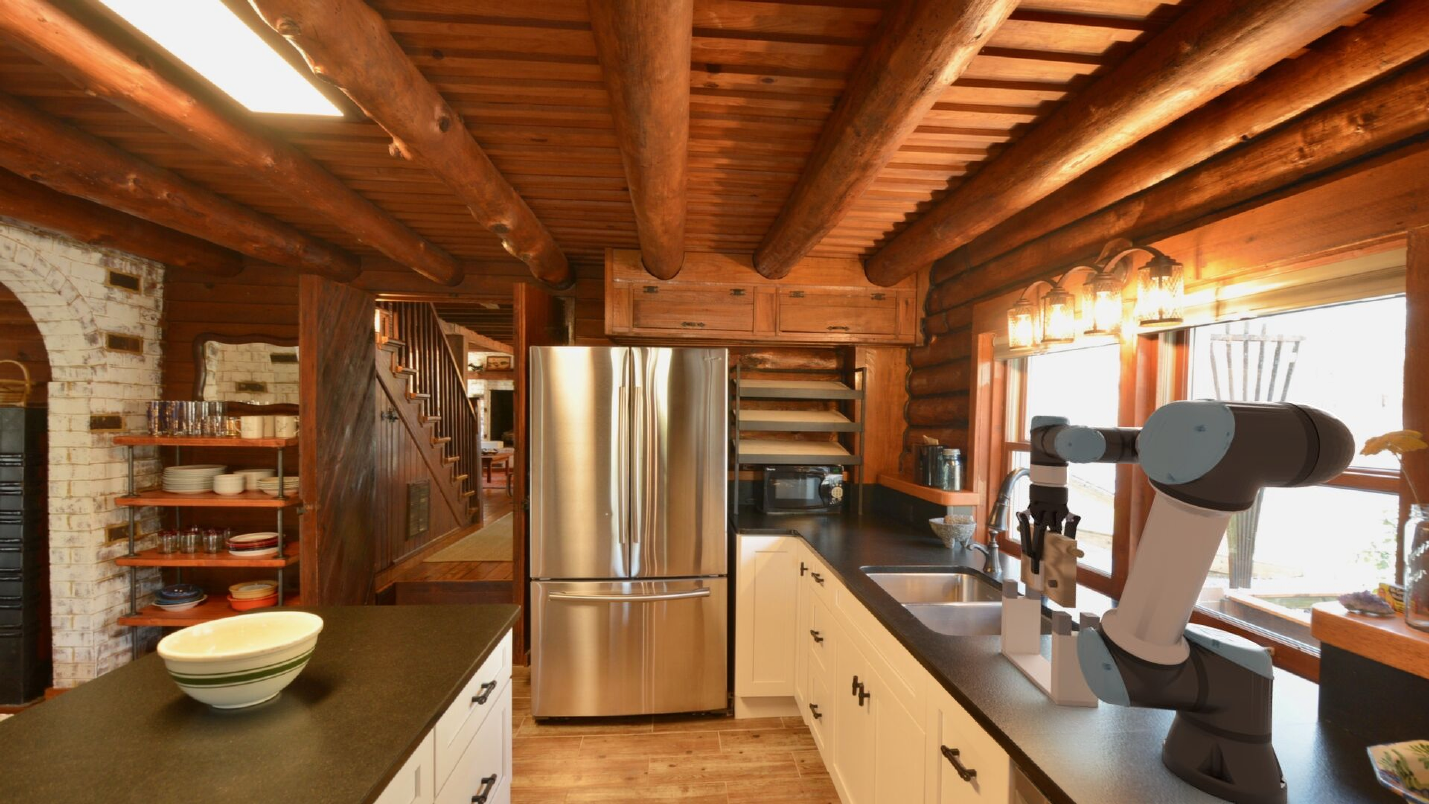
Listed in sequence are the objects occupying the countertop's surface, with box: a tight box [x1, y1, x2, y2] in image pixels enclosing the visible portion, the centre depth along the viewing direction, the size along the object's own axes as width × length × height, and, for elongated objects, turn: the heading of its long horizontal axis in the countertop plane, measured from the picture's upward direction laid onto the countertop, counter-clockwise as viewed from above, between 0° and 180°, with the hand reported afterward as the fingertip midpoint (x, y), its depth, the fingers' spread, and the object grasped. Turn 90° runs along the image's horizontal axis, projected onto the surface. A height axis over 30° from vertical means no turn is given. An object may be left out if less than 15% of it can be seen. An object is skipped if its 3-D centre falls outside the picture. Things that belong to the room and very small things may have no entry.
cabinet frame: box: [1000, 578, 1101, 708], centre depth 124 cm, size 25×8×18 cm, turn 177°
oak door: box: [1016, 522, 1085, 609], centre depth 125 cm, size 25×4×14 cm, turn 177°
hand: (1046, 588), depth 124 cm, fingers closed on oak door, 2 cm apart
